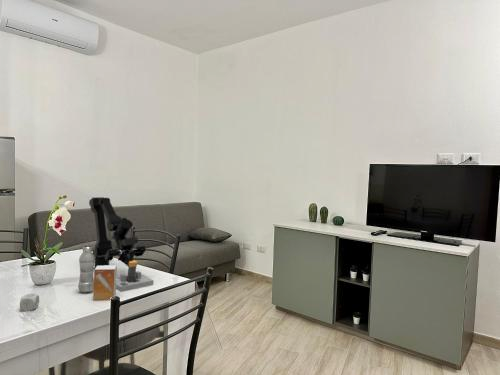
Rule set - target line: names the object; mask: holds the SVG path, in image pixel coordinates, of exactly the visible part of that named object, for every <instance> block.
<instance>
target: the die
mask: <svg viewBox="0 0 500 375" xmlns="http://www.w3.org/2000/svg"><path fill="white" fill-rule="evenodd" d="M39 303H40V296H39V295H38V294H37V293H27V294H24V295H23V296H21V297H20V301H19V309H20V310H21V311H23V312H30V310H31V311H35V310H37V309H38V307H39ZM34 309H35V310H34Z"/></svg>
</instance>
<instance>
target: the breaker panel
mask: <svg viewBox="0 0 500 375" xmlns="http://www.w3.org/2000/svg"><path fill="white" fill-rule="evenodd" d="M127 276H128V275H126V274H125V273H120V276H117V277H116V291H119V292H121V293H122V292H126V291H131V290H136V289H141V288H144V287H149V286H153V285H154V279H151V278H149V277H147V276H145V275H144V274H142V272H141V271H137V270H136V273H135V277H136V280H135V281H134V282H127V281H126V277H127Z"/></svg>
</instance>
